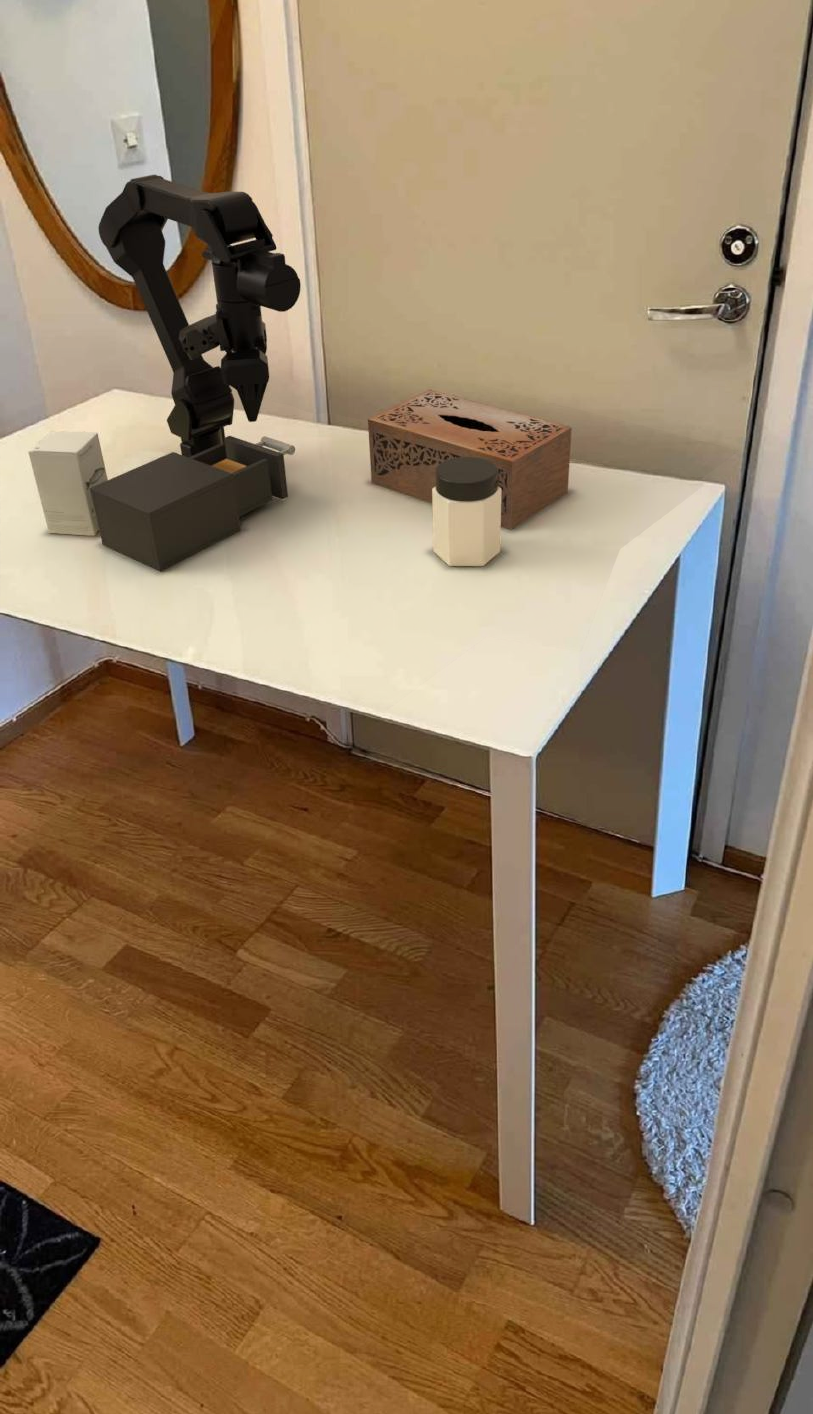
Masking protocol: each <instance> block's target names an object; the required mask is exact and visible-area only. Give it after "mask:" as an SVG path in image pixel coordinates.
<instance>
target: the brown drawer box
mask: <svg viewBox="0 0 813 1414" xmlns="http://www.w3.org/2000/svg"><path fill="white" fill-rule="evenodd" d="M90 492H91V496H92V500H93V505H94V509H95V513H96V517H97V522H98V526H99V530H98V531H99V533H100V538H101V543H102V545H103V546H105V547H107V548H109V549H110V550H113V551H115V552H117V553H119V554H122V555H123V556H125V557H128V558H130V559H132V560H135V561H137V562H139V563H141V564H143V565H146V566H147V567H150V568H152V569H155V570H156V571H159V572H162V571H164V570H166V569H168V568H171V567H172V566H174V565H176V564H178V563H180V562H182V561H184V560H186V559H187V558H189V557H191V556H193V555H195V554H197V553H199V552H201V551H203V550H205V549H206V548H209V547H211V546H213V545H215V544H216V543H219V542H221V541H222V540H225V539H226V538H228V537H230V536H232V535H234V534H236V533H238V532H240V531H241V530H242V528H241V522H240V521H241V519H240V517H239V513H238V506H237V499H236V492H235V486H234V479H233V474H232V473H229V472H226V471H224V470H221V469H218V468H216V467H213V466H210V465H207V464H205V463H202V462H199V461H196V460H194V459H191V458H188V457H186V456H183V455H182V454H181V453H177V452H174V451H172V452H170V453H167V454H165V455H163V456H160V457H158V458H156V459H154V460H151V461H149V462H146V463H144V464H142V465H139V466H137V467H135V468H132V469H131V470H128V471H126V472H123V473H121V474H119V475H117V476H114V477H112V478H110V479H108V480H107V481H105V482H103V483H101V484H98V485H96V486H94V487H91V488H90Z"/></svg>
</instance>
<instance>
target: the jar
mask: <svg viewBox="0 0 813 1414" xmlns="http://www.w3.org/2000/svg"><path fill="white" fill-rule="evenodd" d="M498 484H499V474H498V467H497V466H496V465H495V464H494V463H493V462H491V461H489V460H486V459H483V458H477V457H458V458H453V459H449V460H446V461H444V462H442V463H440V464H439V465H438V466H437V468H436V470H435V487H434V488H433V489H432V503H431V504H432V544H433V549H432V550H433V552H434V554H435V555H437V556H438V557H439V558H440V559H441V560H442V561H443V562H444V563H446V565H447V566H449V567H484V566H485V565H486V564H487V563H489V562H490V561H491V560H492V559H493V558H495V557H496V556H497V555H499V553H500V552H501V538H502V537H501V536H502V534H501V533H502V526H501V491H502V490H501V488H500V487H499V486H498Z"/></svg>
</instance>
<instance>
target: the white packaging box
mask: <svg viewBox="0 0 813 1414" xmlns="http://www.w3.org/2000/svg"><path fill="white" fill-rule="evenodd" d="M27 452H28V456H29V461H30V464H31V468H32V472H33V476H34V480H35V484H36V488H37V491H38V495H39V499H40V504H41V507H42V511H43V516H44V519H45V523H46V526H47V529H48V530H47V531H48V533H49V534H59V535H60V534H61V535H73V536H74V535H76V536H89V537H92V536H96V534H97V533H98V532H99V531H100V530H99V526H98V522H97V517H96V513H95V509H94V505H93V500H92V496H91V492H90V488H91V487H94V486H96V485H98V484H101V483H103V482H105V481H107V480H109V479H108V474H107V470H106V469H107V468H106V464H105V461H104V456H103V452H102V447H101V442H100V437H99V433H98V432H94V431H93V432H92V431H69V430H68V431H67V430H51V431H49V432H48V433H47V434H46V435H45V436H44V437H43V438H42V439H41V440H39V441H38V442H37V443H36V444H35V445H34V446H32V447H31V448H30V449H29V450H28V451H27Z"/></svg>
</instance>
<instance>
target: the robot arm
mask: <svg viewBox="0 0 813 1414" xmlns="http://www.w3.org/2000/svg"><path fill="white" fill-rule="evenodd" d="M168 220H170V221H173V222H176V223H177V224H182V225H184V226H187V227H189V228H191V229H193V232H194V233H193V234H194V236H195V237H196V238H197V239H198V240H199V241H201V242H203V243H204V244H206V245H207V247H206V248H205V249H203V251H202V253H201V257H202V258H203V259H206V260H208V261H211V268H212V275H213V282H214V291H215V297H216V304H215V313H214V314H212V315H209V316H205V317H204V318H202V319H199V320H197V321H196V322H193V323H191V324H189V322H188V319H187V317H186V314H185V312H184V310H183V307H182V305H181V303H180V300H179V297H178V295H177V292H176V291H175V288H174V286H173V283H172V281H171V278H170V277H169V274H168V272H167V270H166V267H165V263H164V259H165V251H166V238H165V235H164V233H163V229H164V228H165V226H166V224H167V222H168ZM97 228H98V236H99V238H100V241H101V243H102V244H103V246H105V248H106V250H107V252H108V253H109V256H110V257H111V259H112V261H113V263H114V264H115V265H117V266H118V267H119V268H120V269H122V270H123V271H124V272H125V273H127V274H128V275H129V276H130V277H131V278H132V280H133V282H134V284H135V286H136V289H137V291H138V293H139V296H140V298H141V300H142V303H143V305H144V307H145V310H146V312H147V314H148V317H149V319H150V321H151V323H152V326H153V329H154V330H155V333H156V335H157V337H158V340H159V342H160V344H161V347H162V349H163V351H164V354H165V356H166V358H167V361H168V363H169V365H170V368H171V371H172V373H173V375H172V383H171V390H170V391H171V392H170V393H171V397H172V400H173V403H174V406H173V407H172V410H171V412H170V413H169V414H168V416H167V418H166V423H167V425H168V429H169V432H170V433H171V434H172V435H174V436H176V437H179V438H180V442H181V443H180V444H179V448H180V455H183V456H186V457H188V458H189V457H191V456H193V455H196V454H198V453H200V452H202V451H205V450H207V449H209V448H211V447H214V446H216V445H218V444H224V448H225V442H224V438H225V437H226V432H225V427H227V426H231V425H233V422H234V421H233V420H234V409H235V397H234V394H233V389H234V390H236V392H237V394H238V397H239V400H240V403H241V405H242V408H243V410H244V413H245V415H246V419H247V421H248V422H249V423H254V422H257V420H258V417H259V415H260V409H261V406H262V402H263V399H264V396H265V392H266V389H267V387H268V383H269V381H270V368H269V367H270V366H269V359H268V355H267V350H268V338H267V337H268V335H267V328H266V327H267V326H266V323H265V322H264V321H263V317H262V315H263V314H262V307H263V308H267V309H270V310H273V311H276V312H279V313H285V312H288V311H289V310H291V309H292V308H293V307H294V306H295V305H296V303H297V302H298V299H299V298H300V294H301V279H300V278H299V276H298V273H297V271H296V269H294V268H293V267H292V266H291V265H289V264H288V263H287V264H286V256H285V254H284V253H281V252H273V251H276V250H277V244H276V243H275V241H274V237H273V235H274V234H273V233H272V232H271V230H270V228H269V227H268V225H267V224H266V222H265V220H264V218H263V216H262V214H261V212H260V210H259V208H258V206H257V204H256V202H254V201H253V198H252V197H251V195H250V194H249V193H247V192H245V191H221V192H205V191H202V190H199V189H196V188H192V187H190V186H187V185H184V184H180V183H178V182H174V181H171V180H168V179H165V178H164V177H163V176H162V175H158V174H149V175H144V176H140V177H135V178H131V179H130V180H129V181H127V182H126V183H125V185H124V187H123V190H122V192H121V193H120V194H119V195H118V196H116V198H114V199H113V200H112V201H111V202H110V203H109V204H108V205H107V206H106V207H105V209H104V211H103V214H102V216H101V219H100V220H99V223H98V227H97ZM245 241H246V242H245ZM237 243H238V244H237ZM218 347H219V350H220V352H225V354H224V355H223V357H222V358H221V359H220V366H219V365H217V366H212V365H211V364H210V363H209V362H207V361H206V360H205V359H204V357H203V354H206V353H207V352H210V351H212V350H214V349H216V348H218ZM232 388H233V389H232ZM225 455H226V448H225ZM226 459H227V455H226Z"/></svg>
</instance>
